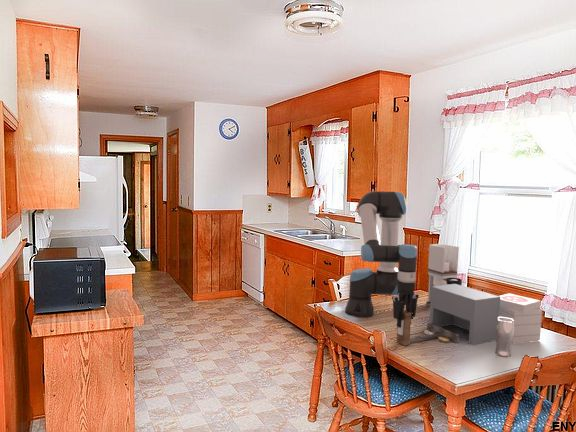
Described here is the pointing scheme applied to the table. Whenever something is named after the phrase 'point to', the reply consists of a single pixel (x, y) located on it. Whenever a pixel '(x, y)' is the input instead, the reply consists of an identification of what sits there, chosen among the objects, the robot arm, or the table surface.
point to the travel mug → (454, 281)
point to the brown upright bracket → (406, 339)
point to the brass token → (444, 339)
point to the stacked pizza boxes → (522, 316)
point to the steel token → (429, 332)
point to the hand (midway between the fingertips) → (403, 333)
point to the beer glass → (504, 336)
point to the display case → (441, 265)
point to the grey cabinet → (465, 311)
